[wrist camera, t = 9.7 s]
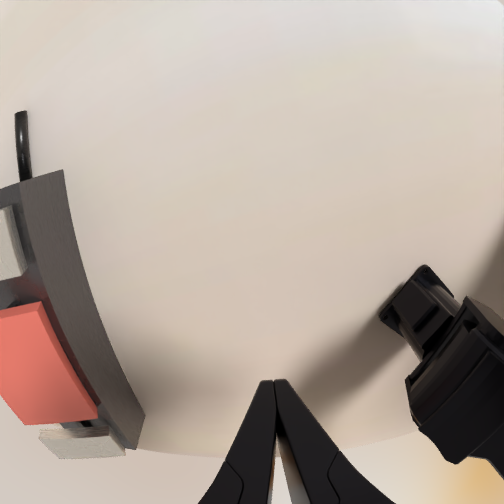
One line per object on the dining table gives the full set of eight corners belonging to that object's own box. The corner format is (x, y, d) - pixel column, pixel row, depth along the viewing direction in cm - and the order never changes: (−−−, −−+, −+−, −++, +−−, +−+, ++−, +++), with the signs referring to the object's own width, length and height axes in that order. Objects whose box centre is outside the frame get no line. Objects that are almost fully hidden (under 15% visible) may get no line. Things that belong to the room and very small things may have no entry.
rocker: (41, 301, 16) (36, 310, 15) (97, 407, 20) (97, 418, 19) (-36, 317, 13) (-42, 326, 11) (26, 415, 17) (24, 425, 16)
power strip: (57, 98, 15) (-38, 94, 6) (145, 415, 29) (127, 482, 19) (-12, 133, 15) (-89, 150, 6) (81, 404, 29) (56, 460, 19)
